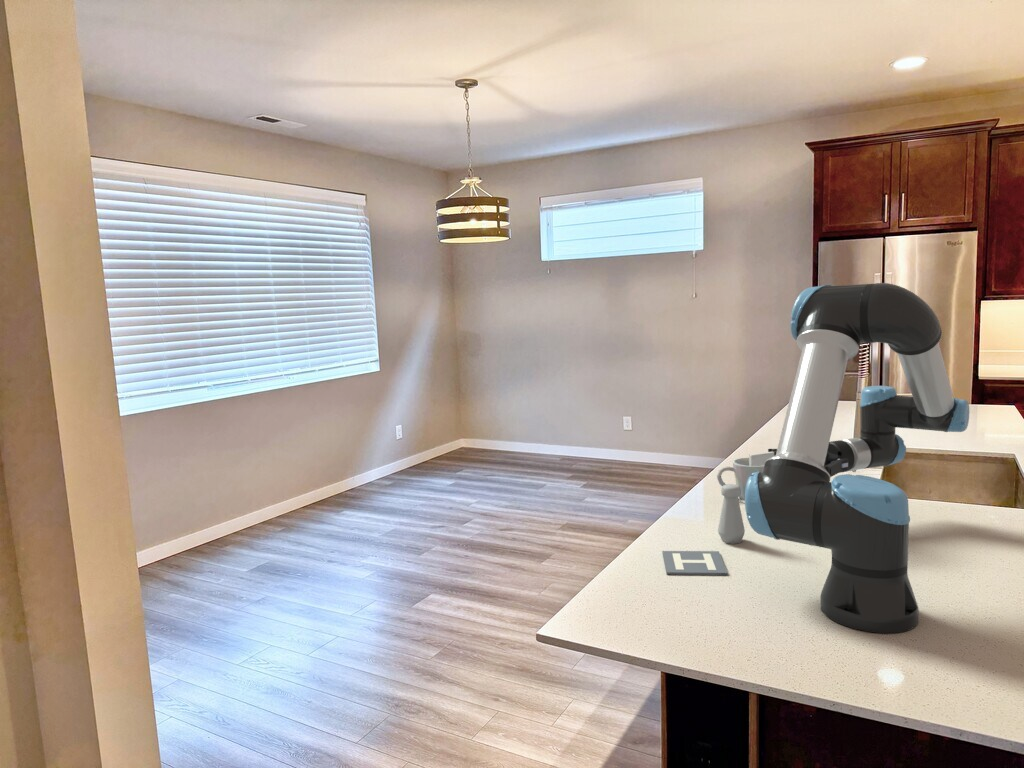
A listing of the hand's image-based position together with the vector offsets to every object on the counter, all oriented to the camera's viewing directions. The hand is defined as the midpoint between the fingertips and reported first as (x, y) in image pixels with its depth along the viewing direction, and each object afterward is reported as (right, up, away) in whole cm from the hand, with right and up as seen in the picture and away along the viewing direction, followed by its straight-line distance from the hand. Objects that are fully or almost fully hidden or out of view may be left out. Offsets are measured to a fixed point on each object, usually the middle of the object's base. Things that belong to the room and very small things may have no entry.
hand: (768, 466), depth 159 cm
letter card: (-21, -19, -13) cm, 31 cm away
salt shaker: (-9, -17, -1) cm, 19 cm away
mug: (+5, -12, +31) cm, 34 cm away
